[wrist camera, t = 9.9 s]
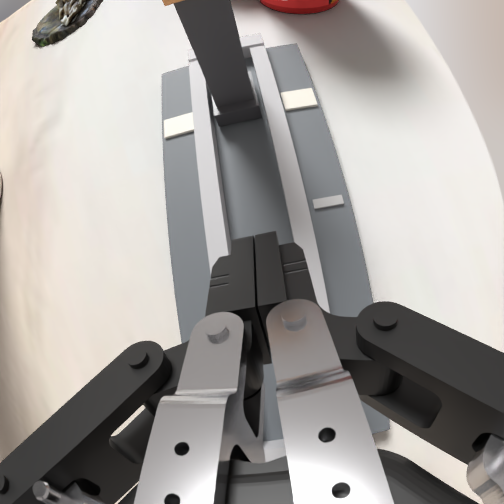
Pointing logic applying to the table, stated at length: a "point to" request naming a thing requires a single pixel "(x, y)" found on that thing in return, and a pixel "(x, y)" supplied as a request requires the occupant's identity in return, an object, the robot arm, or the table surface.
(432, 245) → the table surface
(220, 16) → the fader tab
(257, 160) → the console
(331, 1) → the canned food
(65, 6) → the grey rough oval piece
